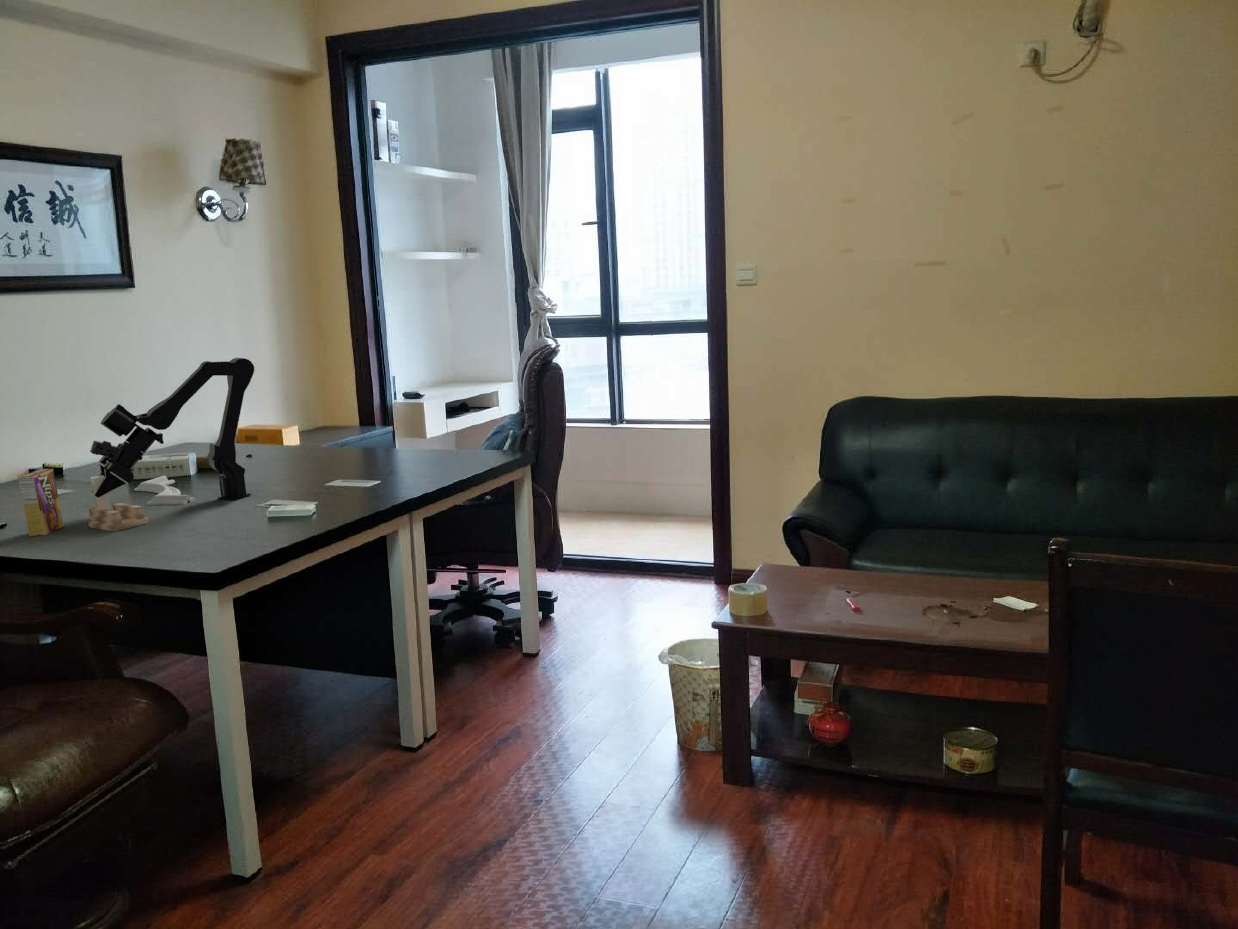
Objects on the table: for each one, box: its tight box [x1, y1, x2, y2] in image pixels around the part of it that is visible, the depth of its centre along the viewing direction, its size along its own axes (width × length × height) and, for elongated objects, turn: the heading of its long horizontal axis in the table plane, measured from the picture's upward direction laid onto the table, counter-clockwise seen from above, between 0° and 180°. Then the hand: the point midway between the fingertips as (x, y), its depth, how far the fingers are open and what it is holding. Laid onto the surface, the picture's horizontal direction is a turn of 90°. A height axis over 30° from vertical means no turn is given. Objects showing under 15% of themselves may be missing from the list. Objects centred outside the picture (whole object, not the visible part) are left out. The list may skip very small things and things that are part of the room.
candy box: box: [17, 468, 65, 537], centre depth 251 cm, size 9×4×15 cm, turn 0°
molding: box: [134, 475, 197, 506], centre depth 293 cm, size 42×12×3 cm, turn 33°
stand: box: [87, 502, 149, 532], centre depth 255 cm, size 12×9×4 cm
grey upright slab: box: [90, 474, 112, 510], centre depth 263 cm, size 6×3×11 cm, turn 34°
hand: (94, 494), depth 262 cm, fingers closed on grey upright slab, 6 cm apart
